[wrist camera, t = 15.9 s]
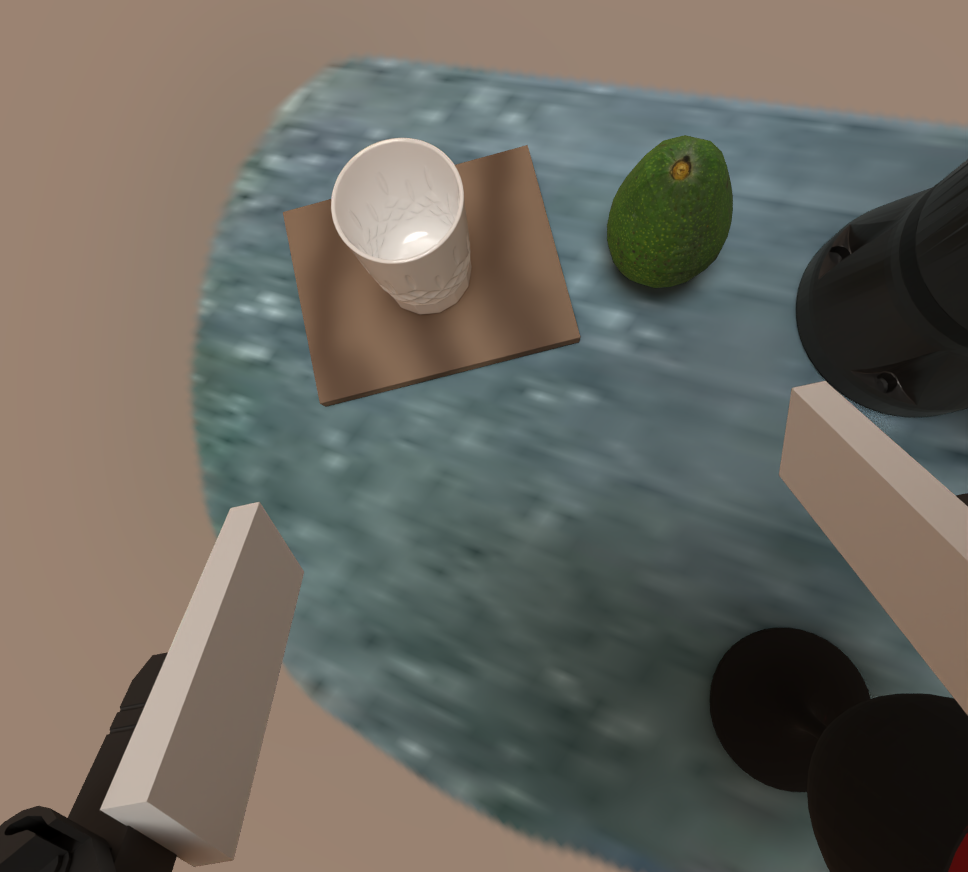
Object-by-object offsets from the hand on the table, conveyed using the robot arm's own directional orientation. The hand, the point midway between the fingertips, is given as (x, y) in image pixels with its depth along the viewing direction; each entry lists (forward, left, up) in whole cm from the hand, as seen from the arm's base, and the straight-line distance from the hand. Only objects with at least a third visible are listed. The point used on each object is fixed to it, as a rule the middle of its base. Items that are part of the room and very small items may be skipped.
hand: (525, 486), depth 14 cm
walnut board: (+4, -19, -26) cm, 33 cm away
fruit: (-13, -16, -27) cm, 34 cm away
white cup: (+3, -19, -25) cm, 32 cm away
